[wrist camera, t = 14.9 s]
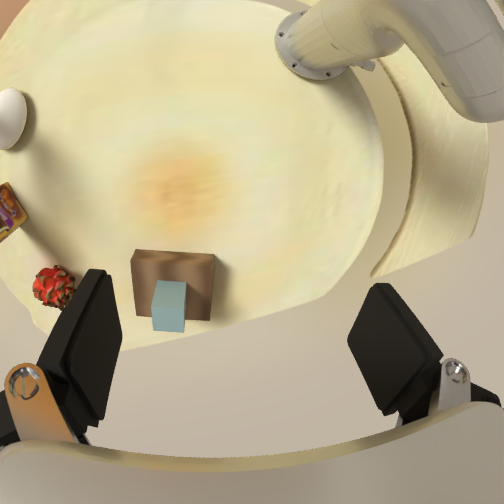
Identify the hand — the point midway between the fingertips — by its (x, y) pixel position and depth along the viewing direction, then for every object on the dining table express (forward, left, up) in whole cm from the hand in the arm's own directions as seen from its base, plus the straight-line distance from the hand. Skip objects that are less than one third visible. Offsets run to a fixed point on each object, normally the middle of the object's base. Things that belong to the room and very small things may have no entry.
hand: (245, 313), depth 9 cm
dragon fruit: (+31, +26, -36) cm, 54 cm away
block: (+6, +24, -32) cm, 40 cm away
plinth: (+6, +24, -36) cm, 43 cm away
